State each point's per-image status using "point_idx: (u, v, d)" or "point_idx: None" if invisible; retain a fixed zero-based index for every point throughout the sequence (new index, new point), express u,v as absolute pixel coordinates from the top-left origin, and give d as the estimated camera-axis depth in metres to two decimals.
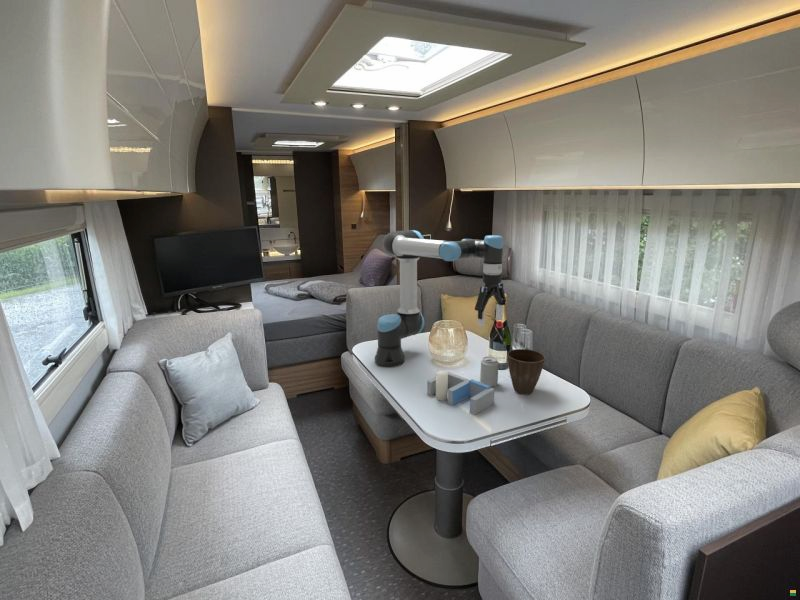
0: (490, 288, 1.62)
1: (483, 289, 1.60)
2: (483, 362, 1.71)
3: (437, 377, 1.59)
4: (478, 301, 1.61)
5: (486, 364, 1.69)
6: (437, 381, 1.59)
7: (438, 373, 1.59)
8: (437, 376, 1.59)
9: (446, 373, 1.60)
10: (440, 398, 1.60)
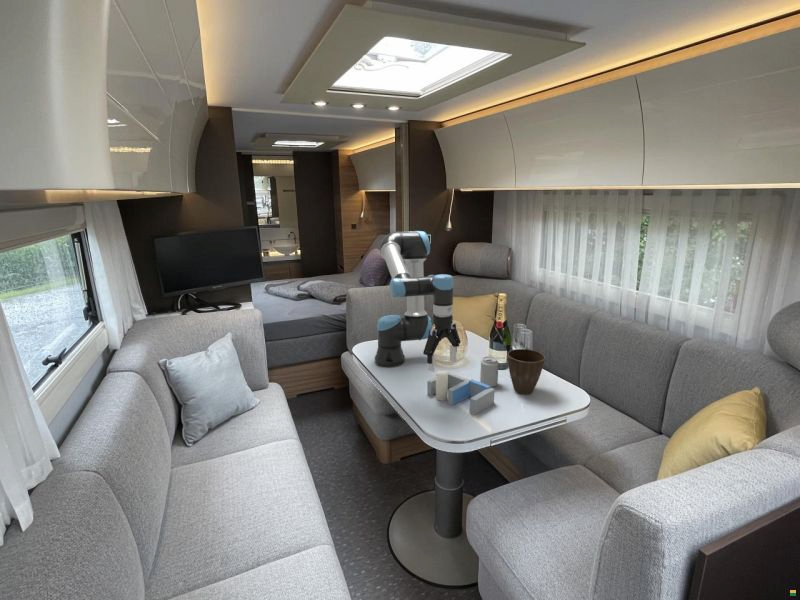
0: (440, 330, 1.53)
1: (432, 332, 1.50)
2: (483, 362, 1.71)
3: (437, 377, 1.59)
4: (427, 345, 1.51)
5: (486, 364, 1.69)
6: (437, 381, 1.59)
7: (438, 373, 1.59)
8: (437, 376, 1.59)
9: (446, 373, 1.60)
10: (440, 398, 1.60)
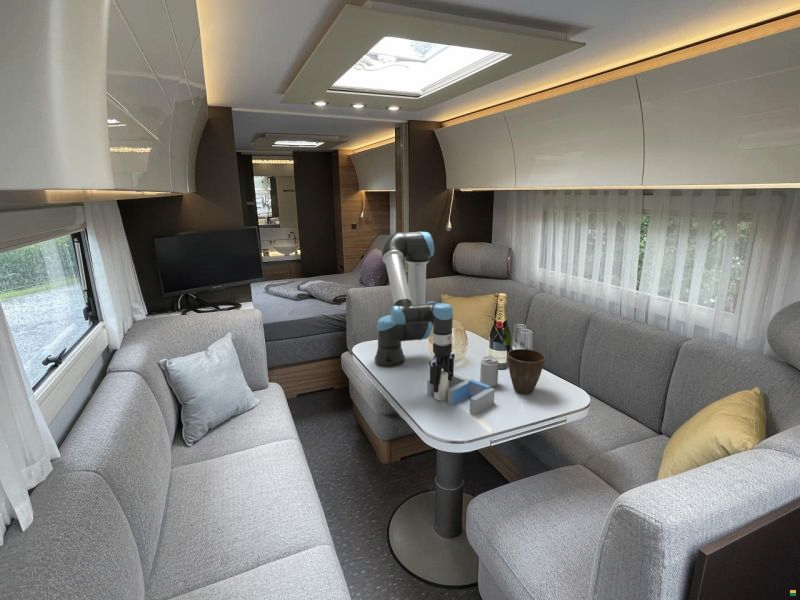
0: (440, 358, 1.56)
1: (432, 364, 1.54)
2: (483, 362, 1.71)
3: None
4: (431, 376, 1.56)
5: (486, 364, 1.69)
6: None
7: None
8: None
9: (446, 373, 1.60)
10: (440, 398, 1.60)
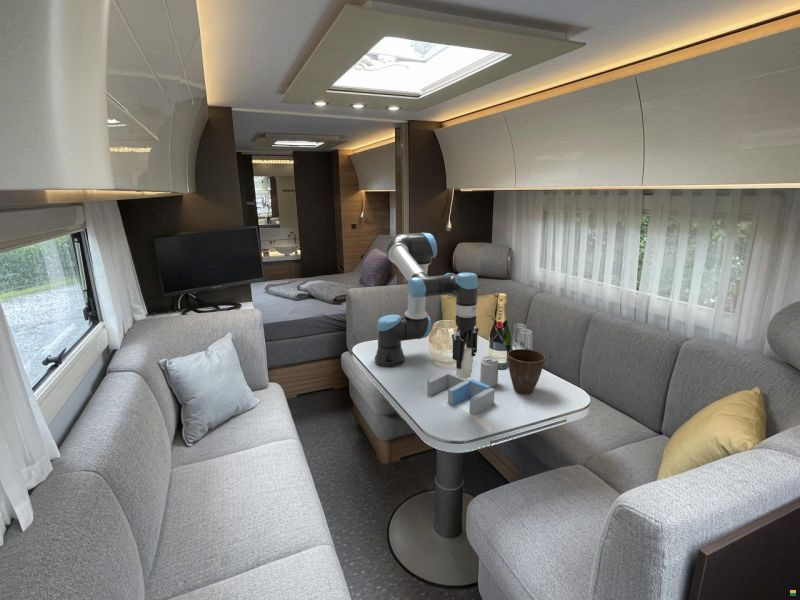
0: (463, 331, 1.45)
1: (455, 338, 1.43)
2: (483, 362, 1.71)
3: None
4: (454, 350, 1.45)
5: (486, 364, 1.69)
6: None
7: None
8: None
9: (470, 349, 1.49)
10: None
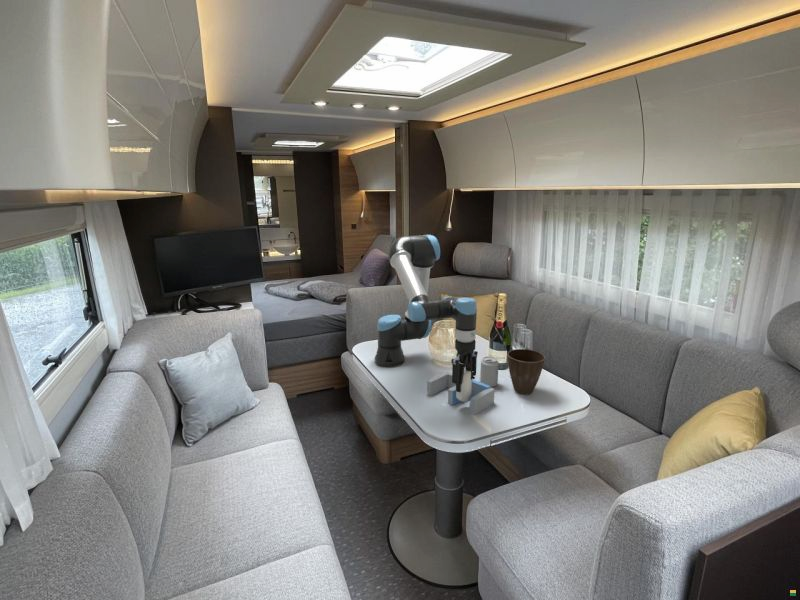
0: (463, 356, 1.47)
1: (455, 362, 1.45)
2: (483, 362, 1.71)
3: None
4: (453, 374, 1.47)
5: (486, 364, 1.69)
6: None
7: None
8: None
9: (469, 372, 1.51)
10: (463, 398, 1.51)
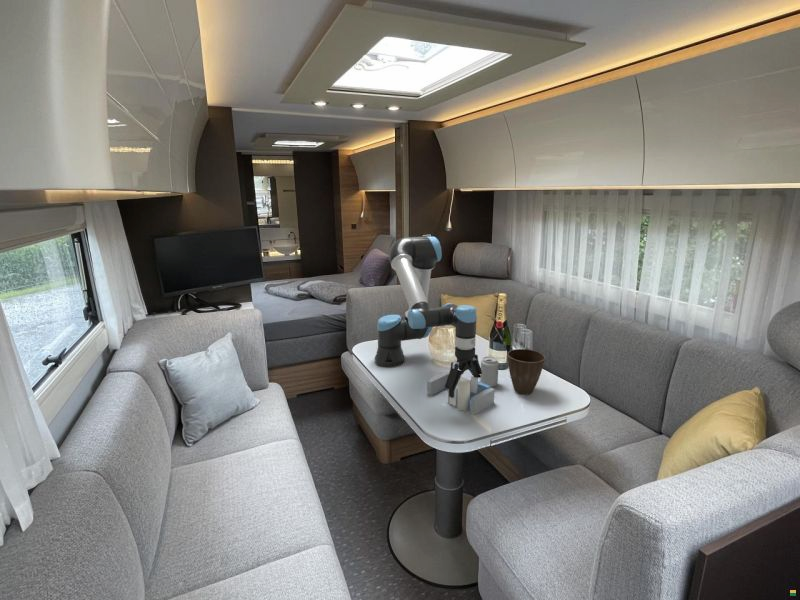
0: (462, 363, 1.48)
1: (454, 366, 1.45)
2: (483, 362, 1.71)
3: (459, 386, 1.51)
4: (449, 379, 1.46)
5: (486, 364, 1.69)
6: (459, 390, 1.52)
7: (461, 382, 1.52)
8: (459, 385, 1.51)
9: (468, 381, 1.52)
10: (462, 408, 1.52)
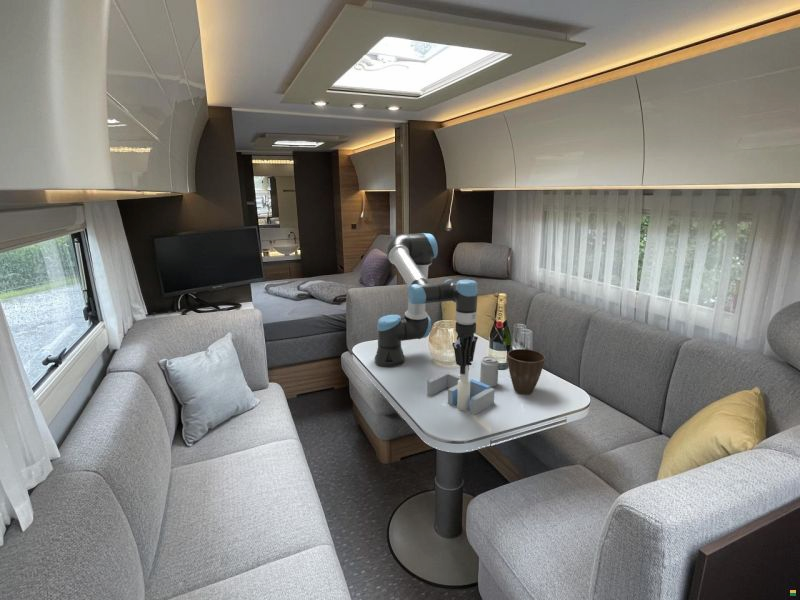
0: (463, 338, 1.45)
1: (456, 346, 1.44)
2: (483, 362, 1.71)
3: (459, 386, 1.51)
4: (456, 357, 1.47)
5: (486, 364, 1.69)
6: (459, 390, 1.52)
7: (461, 382, 1.52)
8: (459, 385, 1.51)
9: (468, 381, 1.52)
10: (462, 408, 1.52)
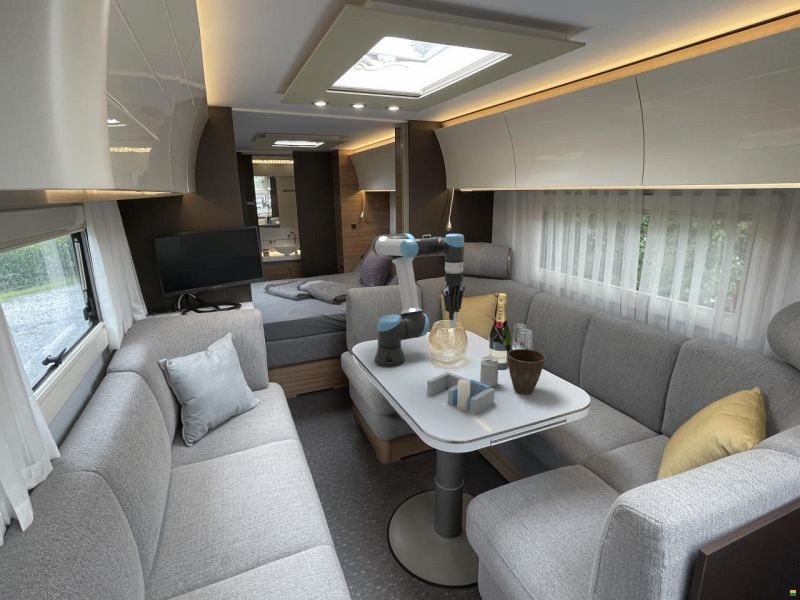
0: (451, 286, 1.62)
1: (445, 293, 1.61)
2: (483, 362, 1.71)
3: (459, 386, 1.51)
4: (446, 304, 1.64)
5: (486, 364, 1.69)
6: (459, 390, 1.52)
7: (461, 382, 1.52)
8: (459, 385, 1.51)
9: (468, 381, 1.52)
10: (462, 408, 1.52)
